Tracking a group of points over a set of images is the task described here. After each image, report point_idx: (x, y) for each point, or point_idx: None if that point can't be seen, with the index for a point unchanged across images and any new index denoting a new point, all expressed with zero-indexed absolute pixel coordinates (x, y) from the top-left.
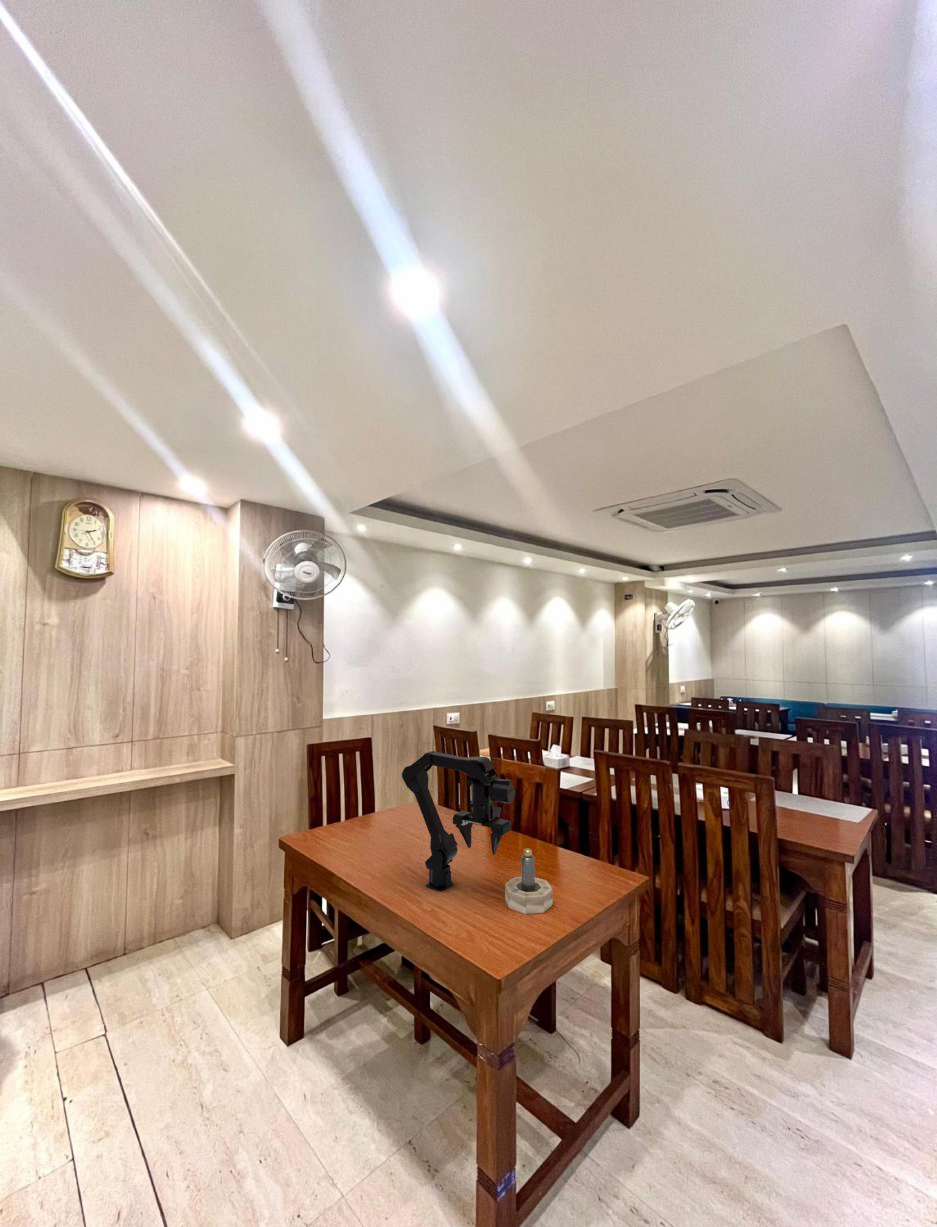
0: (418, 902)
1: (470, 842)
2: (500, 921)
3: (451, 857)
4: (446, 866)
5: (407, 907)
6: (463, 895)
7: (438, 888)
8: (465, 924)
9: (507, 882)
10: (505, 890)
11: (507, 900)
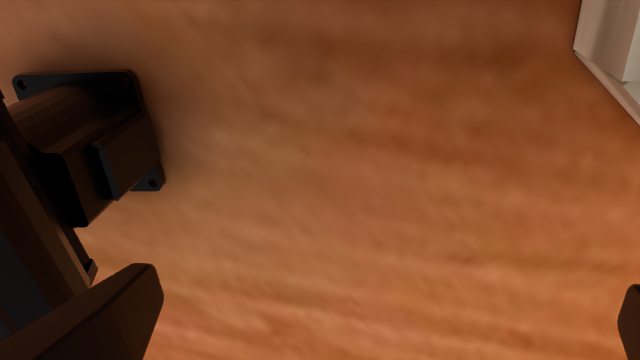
0: (179, 306)
1: (116, 324)
2: (635, 263)
3: (53, 237)
4: (59, 182)
5: (182, 349)
6: (290, 150)
7: (140, 187)
8: (475, 346)
9: (633, 38)
10: (608, 78)
11: (626, 107)
